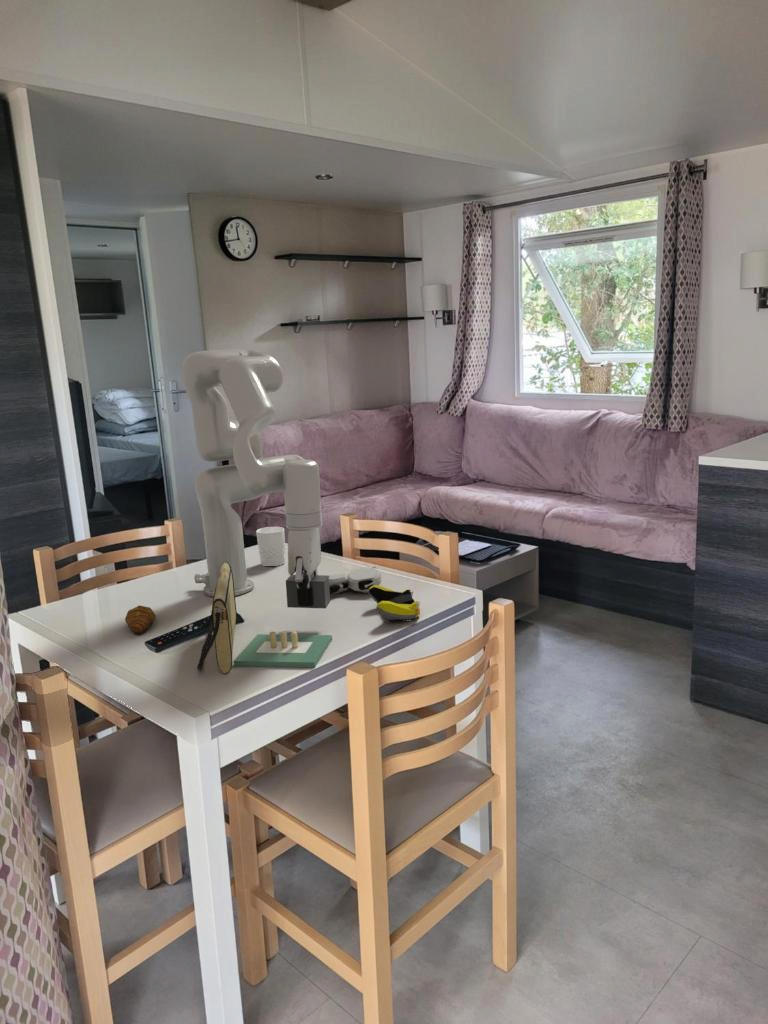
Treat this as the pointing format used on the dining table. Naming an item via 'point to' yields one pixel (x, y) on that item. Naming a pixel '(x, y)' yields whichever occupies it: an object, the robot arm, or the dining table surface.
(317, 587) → the block
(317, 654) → the pin board
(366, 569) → the robot toy
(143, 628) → the croissant
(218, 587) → the clutch purse
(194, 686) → the dining table surface
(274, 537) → the white cup
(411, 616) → the yellow black shoe
